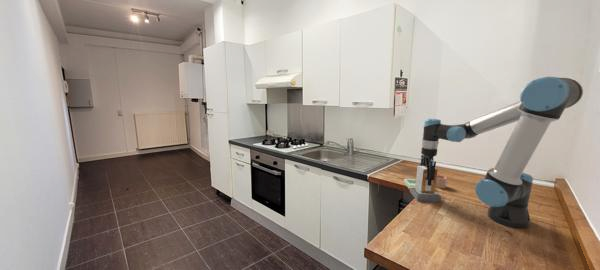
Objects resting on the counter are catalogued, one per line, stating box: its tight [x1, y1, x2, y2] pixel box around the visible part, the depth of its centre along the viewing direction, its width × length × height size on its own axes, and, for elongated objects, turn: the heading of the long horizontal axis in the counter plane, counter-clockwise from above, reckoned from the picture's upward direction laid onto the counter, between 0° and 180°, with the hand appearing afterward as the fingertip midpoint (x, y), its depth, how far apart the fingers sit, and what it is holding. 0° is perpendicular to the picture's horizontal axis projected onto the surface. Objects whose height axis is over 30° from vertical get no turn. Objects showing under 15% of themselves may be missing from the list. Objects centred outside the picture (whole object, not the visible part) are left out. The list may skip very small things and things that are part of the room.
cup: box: [435, 174, 448, 189], centre depth 152 cm, size 7×7×6 cm
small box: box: [415, 165, 439, 192], centre depth 135 cm, size 8×6×13 cm
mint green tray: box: [403, 178, 416, 190], centre depth 151 cm, size 11×14×2 cm
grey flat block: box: [409, 187, 442, 203], centre depth 137 cm, size 12×12×4 cm
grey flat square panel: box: [413, 186, 440, 196], centre depth 136 cm, size 10×10×1 cm
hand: (425, 187), depth 136 cm, fingers closed on small box, 7 cm apart
